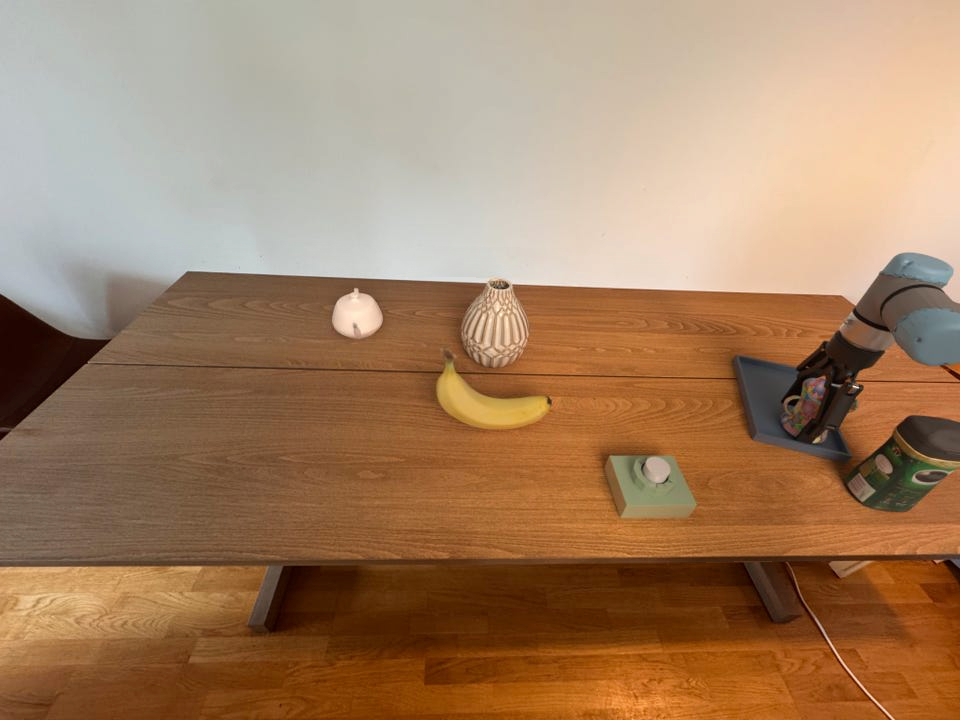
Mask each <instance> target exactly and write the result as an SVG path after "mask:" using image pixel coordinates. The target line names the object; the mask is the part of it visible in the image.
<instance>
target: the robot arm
mask: <svg viewBox="0 0 960 720" xmlns="http://www.w3.org/2000/svg"><path fill="white" fill-rule="evenodd" d="M954 272H955V270H954V267H953V266H952V265H951V264H949V263H948V262H946V261H944V260H942V259H940V258H937V257H934V256H931V255H928V254H923V253H918V252H910V251H909V252H906V251H905V252H901V253H897V254H896V255H895V256H893V257H892V258H891V259H890V261H889V262H888V263H887V264H886V266H885V267H884V268H883V269H882V270H880V271H879V272H878V275H877V276H876V277H875V279H874V280H873V281H872V283H871V284H870V285H869V287H868V288H867V290H866V291H865V292H864V294H862V296H861V298H860V300H859V301H858V302H857V304H856V305H855V306H854V308H852V311H851V312H850V313H849V315H848V316H847V317H846V318H844V319H843V322H842V324H841V325H840V326H839V330H838V329H837V331H835V332H834V334H833V335H832V336H831V338H830V339H829V340H823V341H822V342H821V344H820V345H819V346H818V348H816V350H814V351H813V352H812V353H810V354H809V355H808V356H807V357H806V358H805V359H804V360H802V361H801V362H800V363H799V364H798V365H797V366H795V367H796V371H799V373H798V374H797V379H796V381H795V382H794V383H793V385H792V386H791V388H790V389H789V390H788V392H787V393H786V394H785V396H784V397H783V398H782V400H781V403H782V404H784V401H785V400H786V399H787V398H788V397H791V396H801V393H802V385H803V382H804V381H805V380H807V379H809V378H822V377H825V378H824V379H826V380H825V383H824V388H825V393H824V395H823V398H822V401H821V404H820V407H819V410H818V413H817V416H816V419H814V418H811V420H810V421H809V422H808V423H807V424H806V425H805V427H804V428H803V429H802V430H801V431H800V432H799V434H798V435H797V436H796V437H795V438H794V441H798V442H802V443H806V444H810V445H811V444H812V443H813V441H814V440H815V439H816V438H818V437H819V436H820V435H821V434H822V433H823V432H824V431H825V430H829V431H833V432H837V431H838V429H840V427H841V426H842V424H843V422H844V420H845V419H846V417H847V415H848V414H849V413H848V411H849V410H850V408H851V406H852V404H853V402H854V400H855V399H857V397H858V396H859V395H860V394H861V393H862V392H863V391H864V388H865V386H864V385H863V384H860V383H858V382H857V381H856V380H857V378H858V375H859V373H860V371H863V370H866V369H870V368H872V367H874V366H875V365H876V364H877V363H878V361H879V360H880V359H881V358H882V357H883V356H884V354H885V353H886V351H887V350H889V349H890V348H892V346H893V345H894V344H895V343H896V345H897V347H899V348H900V349H901V350H902V351H903V352H905V354H906V355H907V356H908V357H909V359H911V360H912V361H913V362H916V363H917V364H920V365H923V366H927V367H938V366H953V365H956V364H960V303H959V302H957V301H954V300H952V299H951V296H949V295H948V294H947V293H946V292H945V291H944V289H943V288H944V287H946V286H947V285H949V284H948V283H949V281H950V280H951V279H952V277H953V275H954ZM832 384H836V385H840V387H836V386H832ZM798 401H799V399H793V400H790V401H789V402H788V403H787V405H791V406H795V405H796V404H797V403H798ZM847 413H848V414H847Z"/></svg>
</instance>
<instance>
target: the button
mask: <svg viewBox="0 0 960 720" xmlns="http://www.w3.org/2000/svg"><path fill="white" fill-rule="evenodd" d="M670 471H671V470H670V466H669V464H668V463H667V462H666V461H665V460H663V459H661V458H659V457H650V458H648V459H647V460H646V462H645V464H644V466H643V468H642V472H643V475H644V476H645V477H646V478H647V479H648V480H649V481H651V482H654V483H657V484H660V483H663V482H665V481H666V479H667V477H668V475H669V474H670Z"/></svg>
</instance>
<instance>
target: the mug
mask: <svg viewBox="0 0 960 720" xmlns="http://www.w3.org/2000/svg"><path fill="white" fill-rule="evenodd" d="M825 380H826V378H822V377H820V378H809V379H807V380H805V381H804V382H803V385H802V393H801V396H791V397H788V398H787V399H786V400H785V401H784V404H783V406H784V409H785V411H786V412H785V413H783V414H782V415H781V418H780V420H781V424H782V426H783V427H784V428H785V429H786V430H787V431H788V432H789V433H790V434H791V435H793V436H794V437H796V436H797V435H798V434H799V432H800V431H801V430H802V429H803V428H804V427H805V425H806V424H807V423H808V422H809V421H810V420H811V418H814V419H816V416H817V413H818V410H819V407H820V404H821V401H822V398H823V395H824V393H825V388H824V383H825ZM832 386H836V387H840V385H836V384H832ZM793 399H799V401H798V403H797V404H796V405H795V406H794V407H793V408H792V409H791V410H790V411H788V410H787V403H788V402H789V401H790V400H793ZM858 408H859V401H858V399H857V398H856V399H855V400H854V402H853V404H852V406H851V408H850V410H849V411H848V413H847V415H848V414H851V413H853V412H855V411H856V410H858ZM827 432H828V430H825V431H824V432H823V433H822V434H821V435H820V436H819V437H818V438H816V439H815V440H814V441H813V443H821V442H823V441H825V440H826V438H827Z"/></svg>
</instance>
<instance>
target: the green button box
mask: <svg viewBox="0 0 960 720" xmlns="http://www.w3.org/2000/svg"><path fill="white" fill-rule="evenodd" d="M650 457H659V458H661V459H663V460H665V461H666V462H667V463H668V464H669V466H670V470H671V471H670V474H669V475H668V477H667V479H666V481H665V482H663V483H660V484H657V483H654V482H651V481H649V480H648V479H647V478H646V477H645V476H644V475H643V472H642V468H643V466H644V464H645V462H646V460H647V459H648V458H650ZM603 470H604V473H605V477H606V479H607V483H608V485H609V488H610V492H611V495H612V498H613V501H614V504H615V506H616V510H617V513H618V516H619V519H672V518H673V519H676V518H677V519H679V518H681V519H682V518H686V519H687V518H689V517H690V516H691V515H692V514H693V512H694V510H695V509H696V507H697V506H698V503H697V501H696V499H695V497H694V495H693V493H692V491H691V489H690V487H689V485H688V482H687V481H686V479H685V477H684V475H683V473H682V470H681V468H680V466H679V465H678V462H677V460H676V458H675V457H674V455H670V454H669V455H665V454H664V455H609V456H608V458H607V460H606V463H605V465H604V467H603Z"/></svg>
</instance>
